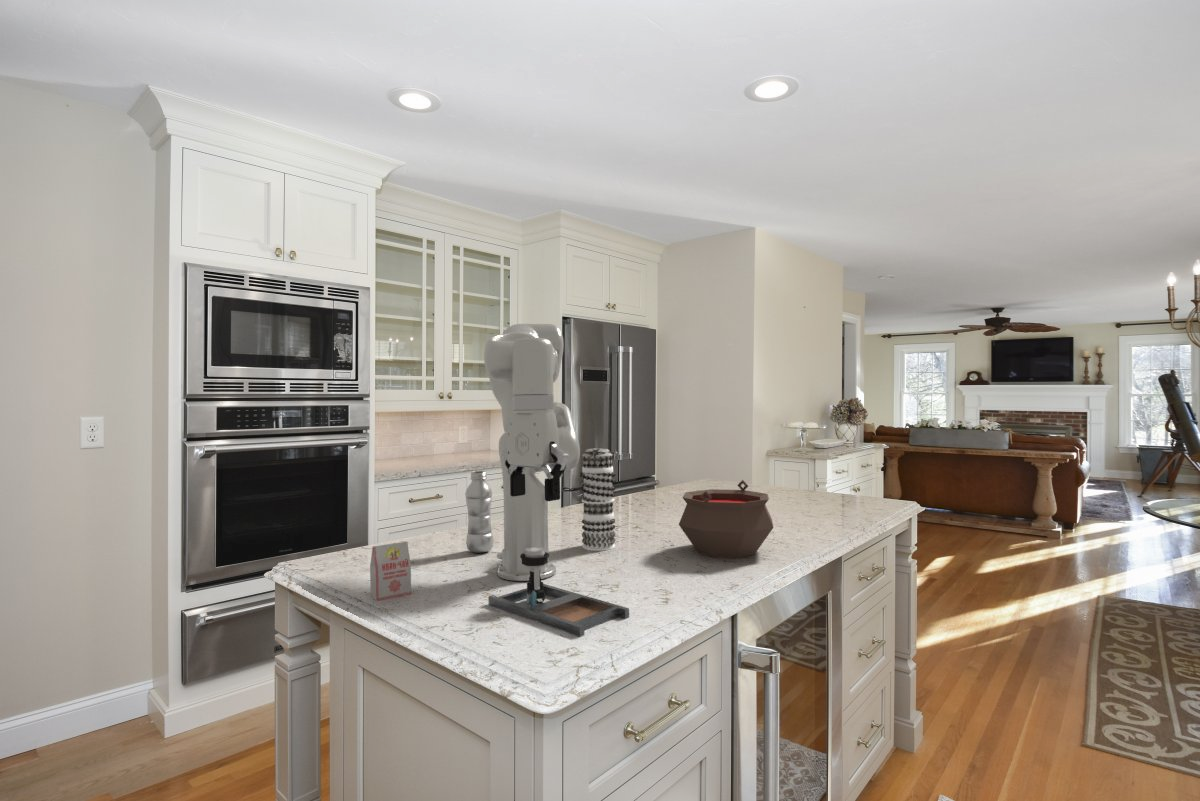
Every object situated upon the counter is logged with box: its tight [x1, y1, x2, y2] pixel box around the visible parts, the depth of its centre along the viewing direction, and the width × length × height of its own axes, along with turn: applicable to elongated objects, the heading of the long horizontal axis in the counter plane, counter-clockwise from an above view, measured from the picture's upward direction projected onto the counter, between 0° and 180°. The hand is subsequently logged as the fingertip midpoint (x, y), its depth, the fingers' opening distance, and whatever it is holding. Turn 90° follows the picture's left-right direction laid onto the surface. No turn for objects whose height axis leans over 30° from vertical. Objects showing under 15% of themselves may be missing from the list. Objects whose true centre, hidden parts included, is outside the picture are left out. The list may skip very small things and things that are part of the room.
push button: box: [520, 547, 550, 607], centre depth 117 cm, size 7×5×10 cm
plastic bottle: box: [464, 470, 495, 554], centre depth 157 cm, size 6×7×20 cm
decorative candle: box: [579, 447, 617, 552], centre depth 161 cm, size 9×9×25 cm
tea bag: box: [369, 540, 412, 602], centre depth 124 cm, size 4×7×10 cm, turn 126°
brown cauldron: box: [678, 479, 774, 559], centre depth 155 cm, size 24×24×16 cm
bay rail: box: [487, 583, 630, 638], centre depth 113 cm, size 24×12×2 cm, turn 47°
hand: (534, 497), depth 117 cm, fingers open, 9 cm apart
